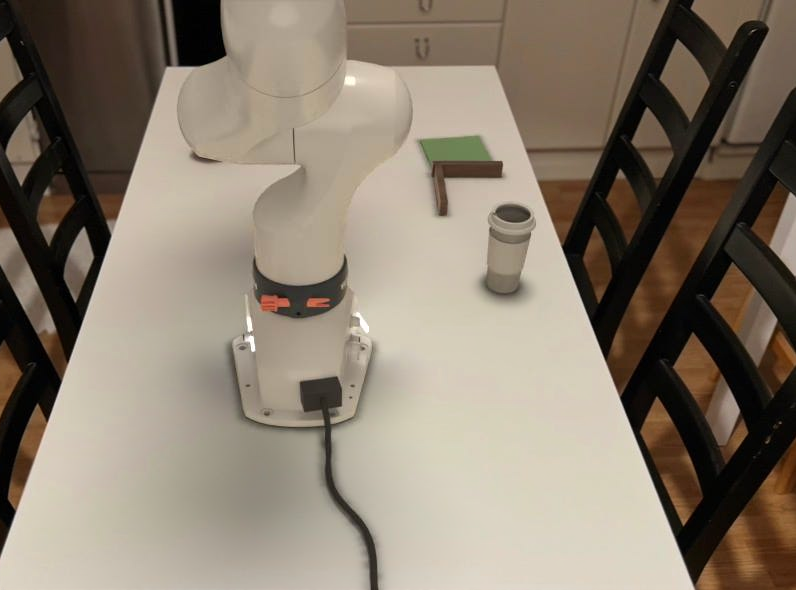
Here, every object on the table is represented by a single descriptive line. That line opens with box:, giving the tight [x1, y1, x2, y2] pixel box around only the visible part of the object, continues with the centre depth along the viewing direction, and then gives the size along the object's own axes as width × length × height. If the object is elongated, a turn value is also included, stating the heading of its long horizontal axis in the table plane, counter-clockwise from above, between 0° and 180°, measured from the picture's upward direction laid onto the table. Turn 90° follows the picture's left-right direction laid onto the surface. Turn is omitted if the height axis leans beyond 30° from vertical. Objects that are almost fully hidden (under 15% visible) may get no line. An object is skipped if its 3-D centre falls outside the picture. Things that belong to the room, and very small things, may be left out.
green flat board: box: [419, 135, 493, 169], centre depth 164 cm, size 11×11×1 cm
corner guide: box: [431, 160, 504, 216], centre depth 153 cm, size 14×12×2 cm
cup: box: [486, 201, 537, 294], centre depth 131 cm, size 7×7×12 cm
